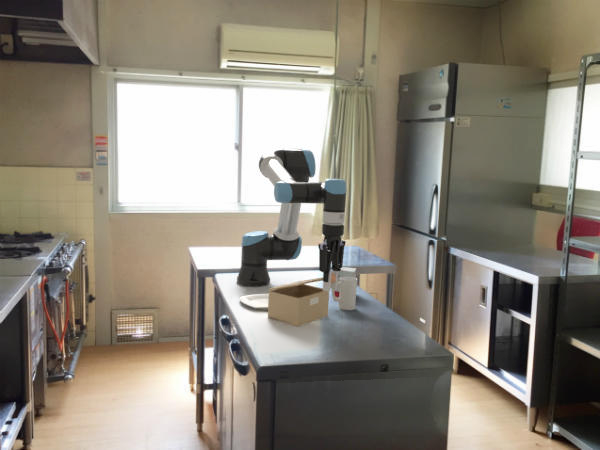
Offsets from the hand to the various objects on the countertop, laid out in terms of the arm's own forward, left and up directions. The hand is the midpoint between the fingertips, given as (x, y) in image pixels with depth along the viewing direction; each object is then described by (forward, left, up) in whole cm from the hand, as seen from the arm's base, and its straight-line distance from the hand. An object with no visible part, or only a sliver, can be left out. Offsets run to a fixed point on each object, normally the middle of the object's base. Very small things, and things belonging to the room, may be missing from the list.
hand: (329, 289), depth 199 cm
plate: (-34, +4, -14) cm, 36 cm away
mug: (-9, +22, -13) cm, 27 cm away
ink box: (-20, +39, -13) cm, 46 cm away
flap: (-9, 0, 0) cm, 9 cm away
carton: (-14, 0, -13) cm, 19 cm away
